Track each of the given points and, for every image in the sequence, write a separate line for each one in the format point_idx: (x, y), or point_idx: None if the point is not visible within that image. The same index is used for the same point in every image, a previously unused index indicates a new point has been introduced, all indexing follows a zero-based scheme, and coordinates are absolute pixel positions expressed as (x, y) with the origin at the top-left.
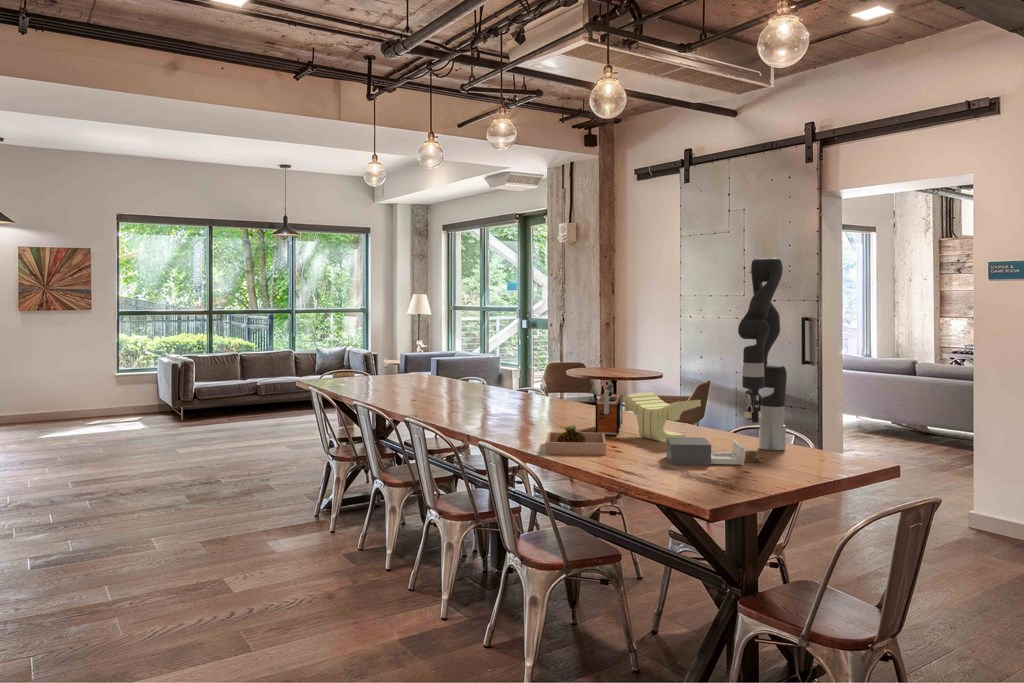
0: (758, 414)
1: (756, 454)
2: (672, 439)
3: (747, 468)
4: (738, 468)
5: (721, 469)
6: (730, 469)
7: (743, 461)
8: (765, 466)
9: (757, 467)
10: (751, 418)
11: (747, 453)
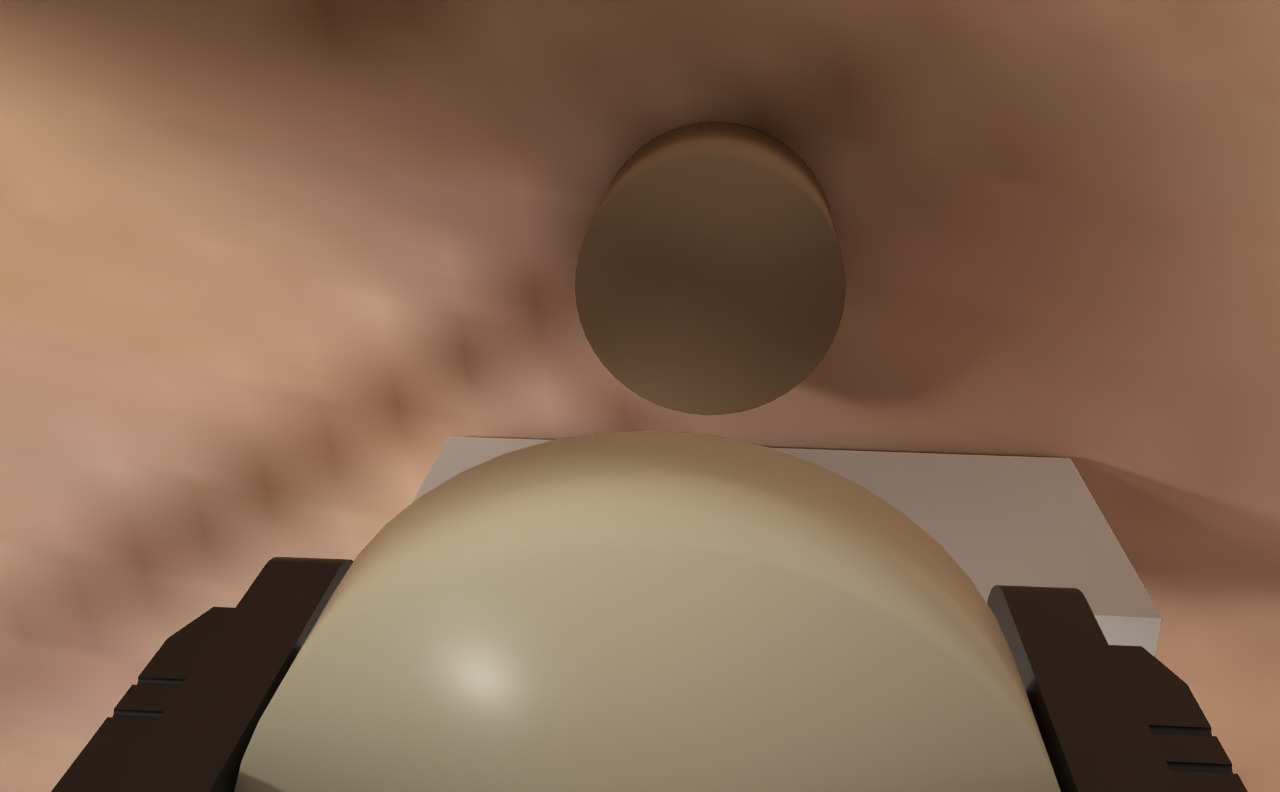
0: (1042, 759)
1: (832, 232)
2: None
3: (1236, 431)
4: (1221, 554)
5: (1258, 771)
6: (1274, 668)
7: (1085, 486)
8: (1111, 103)
9: (1179, 260)
10: None
11: (785, 386)
